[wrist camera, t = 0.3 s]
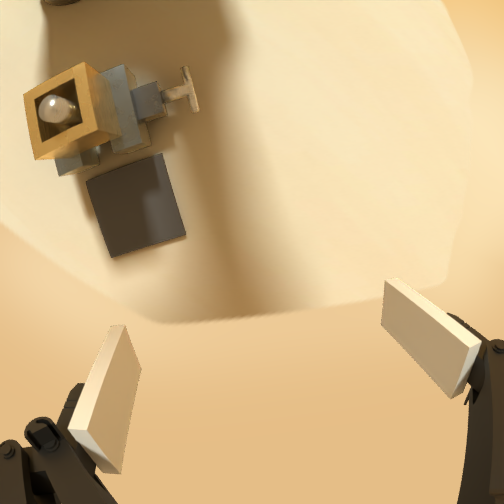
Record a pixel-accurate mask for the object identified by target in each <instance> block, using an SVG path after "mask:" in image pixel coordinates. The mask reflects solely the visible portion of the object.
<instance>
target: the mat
mask: <svg viewBox="0 0 504 504" xmlns="http://www.w3.org/2000/svg"><path fill="white" fill-rule="evenodd" d="M86 185H87V188H88V191H89V195H90V198H91V201H92V204H93V207H94V211H95V214H96V217H97V220H98V223H99V226H100V228H101V231H102V234H103V237H104V240H105V242H106V245H107V248H108V251H109V253H110V256H111V258H113V257H116V256H119V255H122V254H125V253H128V252H131V251H134V250H138V249H141V248H144V247H147V246H150V245H153V244H157V243H160V242H163V241H166V240H170V239H173V238H176V237H179V236H183V235H186V232H185V229H184V226H183V223H182V220H181V216H180V213H179V210H178V207H177V203H176V200H175V197H174V193H173V190H172V186H171V183H170V180H169V176H168V173H167V169H166V166H165V162H164V159H163V155H162V153H161V154H158V155H155V156H152V157H149V158H146V159H143V160H140V161H138V162H135V163H132V164H129V165H126V166H124V167H121V168H118V169H116V170H113V171H111V172H108V173H106V174H103V175H100V176H98V177H96V178H93V179H91V180H88V181H86Z"/></svg>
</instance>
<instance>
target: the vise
mask: <svg viewBox="0 0 504 504" xmlns="http://www.w3.org/2000/svg"><path fill="white" fill-rule="evenodd" d="M180 70H181V74H182V78H183V82H184V85H180V86H177V87H173V88H170V89H167V90H164V91H161V88H160V86H159V84H158V83H157V81H156V82H153V83H150V84H147V85H144V86H141V87H138V88H137V84H136V79H135V76H134V75H133V74H132V73H131V72H130V71H129V69H128V68H127V67H126V66H125V65H124V64H121V65H119V66H116V67H114V68H111V69H109V70H106V71H104V72H102V73H100V74H101V75H103V76H104V77H105V78H106V79H108V80H109V81H110V86H111V90H112V95H113V100H114V104H115V108H116V113H117V117H118V121H119V125H120V129H121V133H122V136H121V137H118V138H116V139H113V140H111V141H110V142H111V146H112V150H113V153H121V154H128V153H131V152H133V151H136V150H139V149H142V148H145V147H147V146H150V145H152V144H151V140H150V136H149V133H148V129H147V125H146V122H148V121H151V120H154V119H157V118H160V117H163V116H166V115H167V112H166V108H165V104H164V103H167V102H170V101H174V100H177V99H180V98H184V97H188V101H189V105H190V108H191V112H192V113H196V112H199V111H200V109H199V105H198V101H197V98H196V94H195V90H194V86H193V83H192V79H191V75H190V71H189V67H188V66H184V67H182V68H180ZM39 116H40V118H41V119H42V120H43V121H46V122H52V123H57V124H62V125H67V126H71V128H72V127H74V126H76V125H78V124H81V123H83V120H82V116H81V111H80V106H79V104H77V103H75V102H72V101H70V100H67V99H64V98H62V97H59V96H57V95H49V96H47V97H45V98H44V99H43V101H42V102H41V104H40V106H39ZM55 163H56V167H57V171H58V175H59V176H65V175H72V174H78V173H81V172H83V171H85V170H88V169H90V168H92V167H95V166H97V165H100V162H99V159H98V155H97V151H96V147H94V148H91V149H89V150H87V151H84V152H82V153H80V154H78V155H75V156H73V157H71V158H65V159H55Z"/></svg>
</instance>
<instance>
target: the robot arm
mask: <svg viewBox="0 0 504 504" xmlns="http://www.w3.org/2000/svg"><path fill="white" fill-rule="evenodd" d="M44 1H45V2H47V3H49V4H52V5H66V4H70V3H74V2H77V1H79V0H44ZM381 325H382V326H383V327H384V328H385V330H387V332H388V333H389V334H390V335H391V336H392V337H393V338H394V339H395V340H396V341H397V342H398V343H399V344H400V345H401V346H402V347H403V348H404V349H405V350H406V351H407V353H408V354H409V355H410V356H411V357H412V358H413V359H414V360H415V361H416V362H417V363H418V364H419V365H420V366H421V368H422V369H423V370H424V371H425V372H426V373H427V374H428V375H429V376H430V377H431V378H432V379H433V380H434V382H435V383H436V384H437V385H438V386H439V387H440V388H441V389H442V391H443V392H444V393H445V394H446V395H447V396H448V397H449V398H450V399H452V398H454V397H456V396H458V395H459V394H461V393H463V391H464V388H465V386H466V384H467V382H468V383H469V384H470V385H471V388H470V391H469V393H468V395H467V397H466V400H465V403H464V405H466V404H467V402H468V400H469V416H468V433H467V445H466V453H465V462H464V468H463V475H462V481H461V487H460V492H459V497H458V501H457V504H504V341H503V340H499V339H494V340H491V341H489V340H487V339H486V338H485V337H483V336H482V335H481V334H480V333H479V332H477V331H476V330H475V329H473V328H472V327H470V326H469V325H468V324H467V323H464V321H463V320H461V319H460V318H459V317H457V316H455V315H453V314H450V313H445V312H443V311H442V310H441V309H439V308H438V307H437V306H435V305H434V304H433V303H431V302H430V301H429V300H427V299H426V298H425V297H423V296H422V295H420V294H419V293H418V292H416V291H415V290H414V289H412V288H411V287H409V286H408V285H407V284H405V283H404V282H402V281H401V280H400V279H398V278H397V277H396V278H392V279H388V280H385V285H384V298H383V309H382V319H381ZM140 373H141V367H140V364H139V362H138V359H137V357H136V354H135V351H134V349H133V346H132V343H131V340H130V338H129V335H128V332H127V329H126V326H125V325H118V326H111V327H110V329H109V331H108V334H107V336H106V338H105V340H104V342H103V344H102V346H101V349H100V351H99V353H98V355H97V358H96V360H95V362H94V365H93V367H92V369H91V371H90V373H89V376H88V378H87V381H86V383H78V384H77V385H76V386H75V387H74V388H73V389H72V390H71V391H70V393H69V395H68V398H67V402H65V405H64V409H62V412H61V415H60V417H59V419H58V422H57V424H56V425H55V424H54V422H53V421H52V420H51V419H50V418H47V417H38V418H35V419H34V420H32V421H31V422H29V424H28V425H27V426H26V429H25V431H24V435H25V438H26V439H27V440H28V442H29V443H30V444H31V445H32V447H26V448H22V447H21V446H20V444H19V443H18V442H17V441H15V440H6V441H4V442H2V444H0V504H61V503H62V504H118V503H117V502H116V501H115V499H114V498H113V497H112V495H111V494H110V493H109V492H108V490H107V489H106V487H105V486H104V485H103V483H102V482H101V480H100V479H99V478H98V476H97V475H96V474H95V469H96V465H97V467H98V468H99V469H100V470H101V471H102V472H103V473H110V474H121V470H122V463H123V457H124V452H125V446H126V440H127V434H128V429H129V424H130V419H131V414H132V409H133V404H134V399H135V395H136V390H137V385H138V381H139V376H140Z"/></svg>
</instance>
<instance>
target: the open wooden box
mask: <svg viewBox="0 0 504 504" xmlns="http://www.w3.org/2000/svg"><path fill="white" fill-rule="evenodd" d="M49 95H57V96H59V97H62V98H64V99H67V100H70V101H72V102H75V103H77V104H79V106H80V111H81V116H82V120H83V123H81V124H78V125H76V126H74V127H72V128H71V126H67V125H62V124H57V123H52V122H46V121H43V120H42V119H41V118H40V116H39V106H40V104H41V102H42V101H43V99H44V98H45V97H47V96H49ZM23 96H24V104H25V111H26V117H27V123H28V129H29V134H30V140H31V145H32V149H33V154H34V158H35V160H44V159H65V158H71V157H73V156H75V155H78V154H80V153H82V152H84V151H87V150H89V149H91V148H94V147H96V146H98V145H101V144H103V143H106V142H108V141H111V140H113V139H116V138H118V137H121V136H122V133H121V129H120V125H119V121H118V117H117V113H116V108H115V104H114V100H113V95H112V90H111V86H110V81H109V80H108V79H106V78H105V77H104V76H103V75H101V74H100V73H99V72H97V71H96V70H95V69H93V68H92V67H91V66H90V65H88V64H87V63H86V62H82V63H80V64H78V65H76V66H74V67H72V68H70V69H68V70H66V71H64V72H62V73H60V74H58V75H56V76H54V77H52V78H50V79H49V80H47V81H45V82H43V83H42V84H40V85H38V86H36V87H35V88H33V89H31V90H30V91H28V92H27V93H25V94H23Z"/></svg>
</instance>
